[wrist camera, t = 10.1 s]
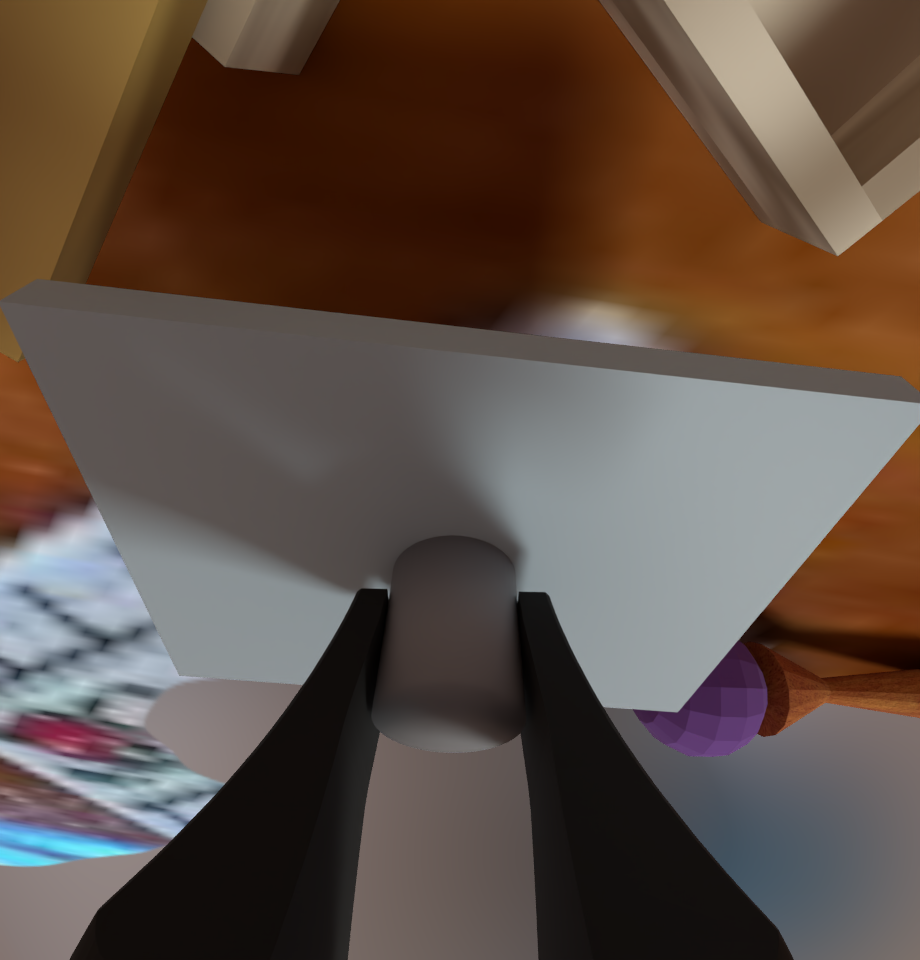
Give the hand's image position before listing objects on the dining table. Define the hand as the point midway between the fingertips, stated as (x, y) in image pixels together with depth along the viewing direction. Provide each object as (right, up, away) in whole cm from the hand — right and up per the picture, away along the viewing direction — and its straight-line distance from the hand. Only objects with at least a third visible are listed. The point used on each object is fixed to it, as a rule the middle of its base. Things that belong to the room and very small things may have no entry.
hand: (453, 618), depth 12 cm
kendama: (+18, -5, +15) cm, 24 cm away
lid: (0, +2, +2) cm, 3 cm away
